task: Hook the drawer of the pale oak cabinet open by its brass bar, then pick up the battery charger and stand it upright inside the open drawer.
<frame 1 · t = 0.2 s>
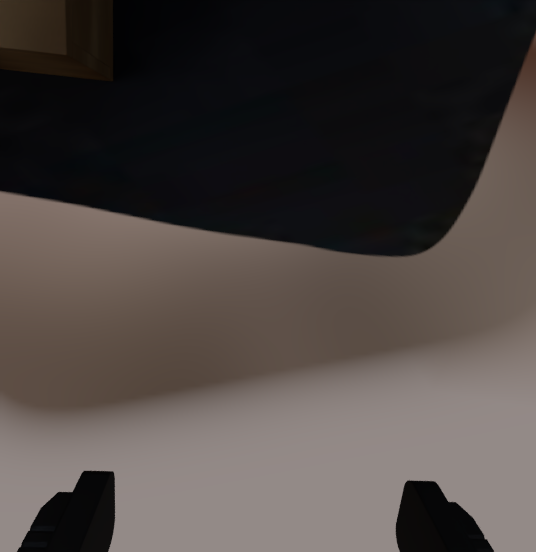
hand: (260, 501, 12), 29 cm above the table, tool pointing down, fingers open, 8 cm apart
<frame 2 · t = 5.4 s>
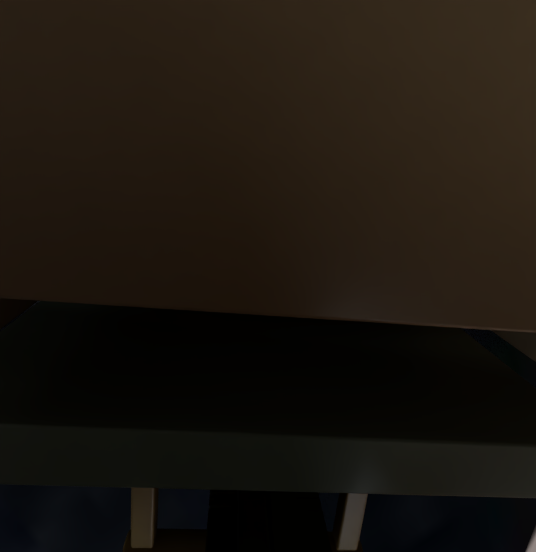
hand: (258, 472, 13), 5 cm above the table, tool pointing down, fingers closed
drawer: (277, 199, 10), point 5 cm above the table, slide at 2.5 cm
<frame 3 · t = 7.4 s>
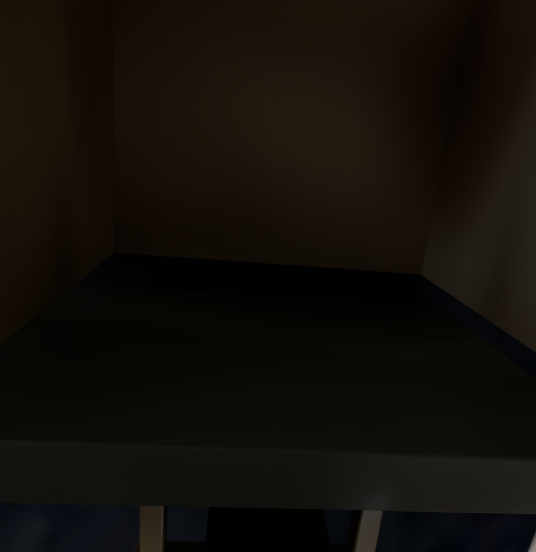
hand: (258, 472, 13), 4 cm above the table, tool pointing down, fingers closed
drawer: (290, 202, 10), point 5 cm above the table, slide at 10.3 cm
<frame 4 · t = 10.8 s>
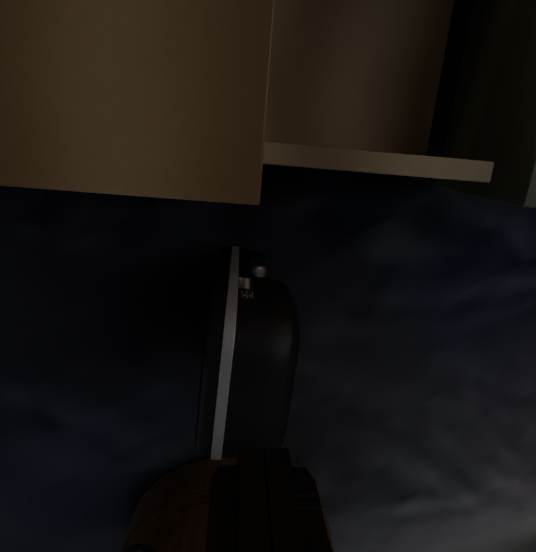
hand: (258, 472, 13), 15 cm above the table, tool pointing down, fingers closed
wooden container: (229, 533, 32), on the table
drawer: (424, 41, 18), point 5 cm above the table, slide at 10.4 cm
cabinet: (99, 32, 22), on the table
battery charger: (246, 297, 27), on the table
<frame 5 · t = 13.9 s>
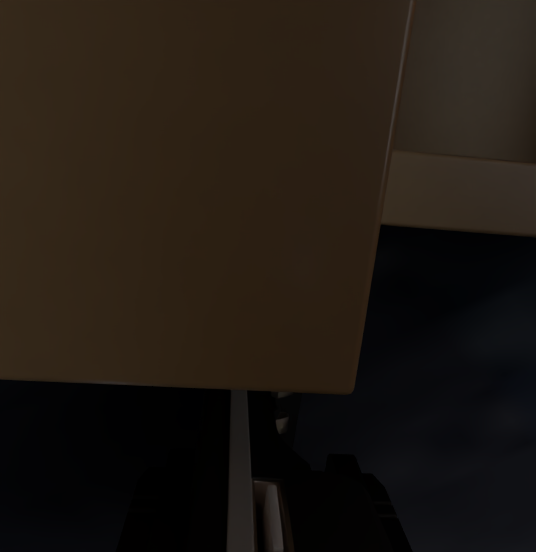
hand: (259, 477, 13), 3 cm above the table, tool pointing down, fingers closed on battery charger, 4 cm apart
battery charger: (256, 418, 15), on the table, touching gripper
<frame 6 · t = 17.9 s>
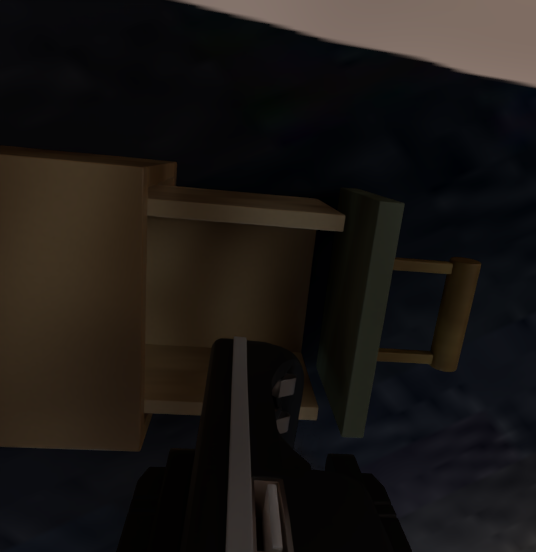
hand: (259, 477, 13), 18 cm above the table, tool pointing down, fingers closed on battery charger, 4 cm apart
drawer: (279, 297, 25), point 5 cm above the table, slide at 10.4 cm
cabinet: (43, 258, 28), on the table
battery charger: (258, 418, 15), point 15 cm above the table, touching gripper
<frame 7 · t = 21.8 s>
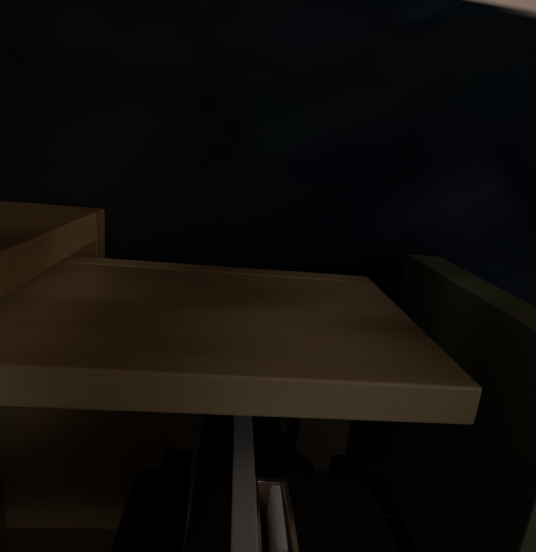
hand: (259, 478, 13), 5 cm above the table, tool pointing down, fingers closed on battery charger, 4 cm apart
drawer: (301, 484, 13), point 5 cm above the table, slide at 10.6 cm, touching battery charger, gripper
battery charger: (259, 419, 15), point 2 cm above the table, touching drawer, gripper
when the fingers open (5 cm above the table, at t = 21.8 s): battery charger stays where it is, resting on drawer.
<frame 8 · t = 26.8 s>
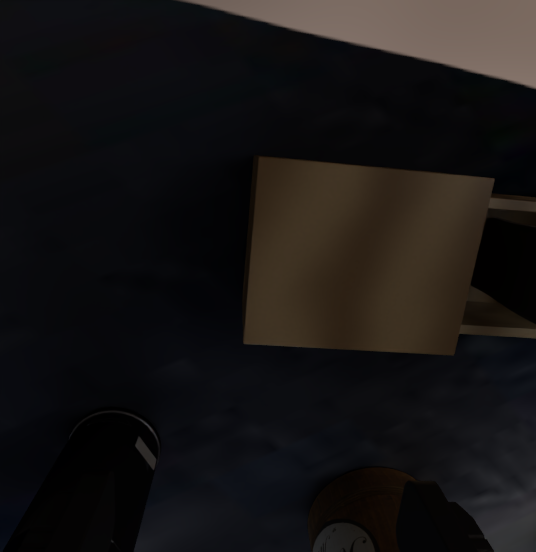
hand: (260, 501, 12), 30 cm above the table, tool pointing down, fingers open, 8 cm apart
wooden container: (368, 516, 51), on the table
drawer: (524, 263, 37), point 5 cm above the table, slide at 11.0 cm, touching battery charger
cabinet: (335, 238, 41), on the table
battery charger: (493, 253, 40), point 2 cm above the table, touching drawer
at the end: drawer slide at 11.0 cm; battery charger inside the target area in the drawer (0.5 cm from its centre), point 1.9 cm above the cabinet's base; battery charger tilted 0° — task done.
